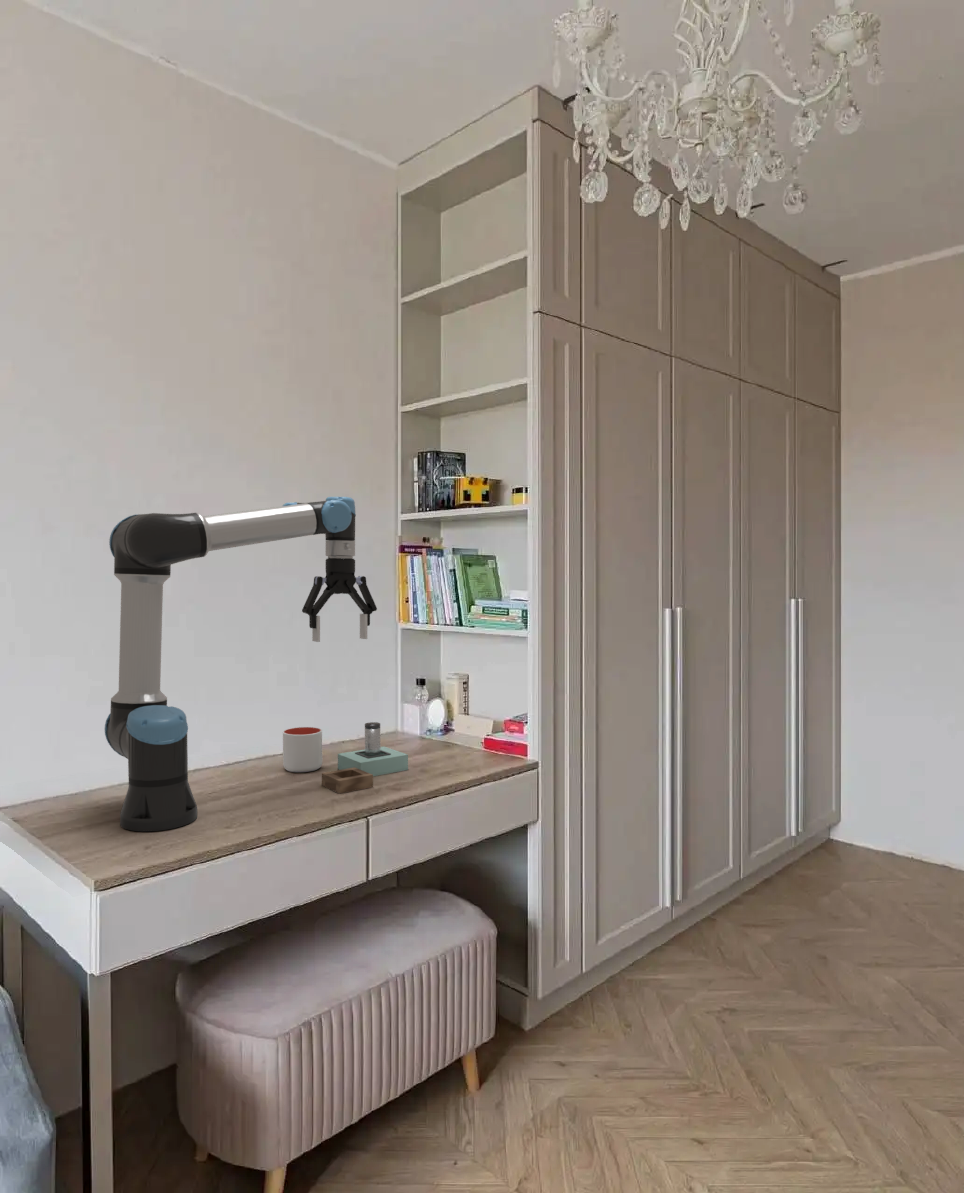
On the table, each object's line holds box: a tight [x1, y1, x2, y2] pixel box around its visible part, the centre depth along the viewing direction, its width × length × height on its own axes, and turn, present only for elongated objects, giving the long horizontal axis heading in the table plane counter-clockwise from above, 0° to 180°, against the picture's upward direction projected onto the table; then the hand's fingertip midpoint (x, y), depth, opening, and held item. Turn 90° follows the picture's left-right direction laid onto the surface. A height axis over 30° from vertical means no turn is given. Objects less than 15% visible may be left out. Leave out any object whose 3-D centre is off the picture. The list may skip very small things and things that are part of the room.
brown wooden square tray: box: [321, 767, 374, 794], centre depth 203 cm, size 9×9×3 cm
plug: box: [364, 721, 381, 757], centre depth 218 cm, size 4×4×12 cm
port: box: [337, 746, 409, 777], centre depth 219 cm, size 14×12×4 cm
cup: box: [282, 726, 323, 773], centre depth 219 cm, size 10×10×10 cm
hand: (340, 640), depth 216 cm, fingers open, 13 cm apart
